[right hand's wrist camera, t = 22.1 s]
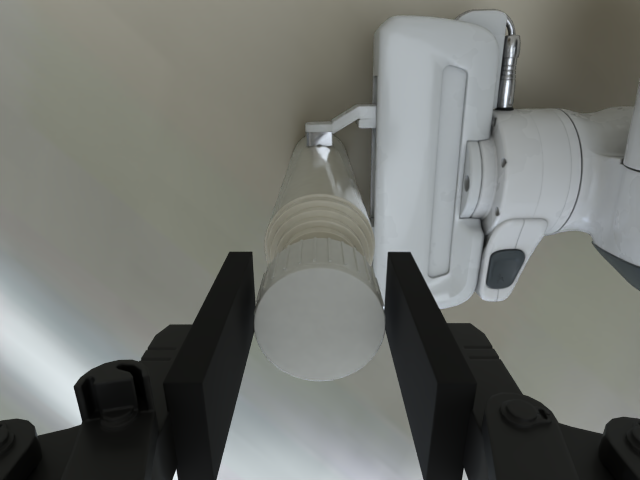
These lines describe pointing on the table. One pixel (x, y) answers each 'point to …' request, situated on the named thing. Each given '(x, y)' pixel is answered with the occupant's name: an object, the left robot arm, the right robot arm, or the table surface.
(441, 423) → the right robot arm
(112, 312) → the table surface
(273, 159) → the table surface
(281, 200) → the bottle
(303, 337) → the cap
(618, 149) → the left robot arm
